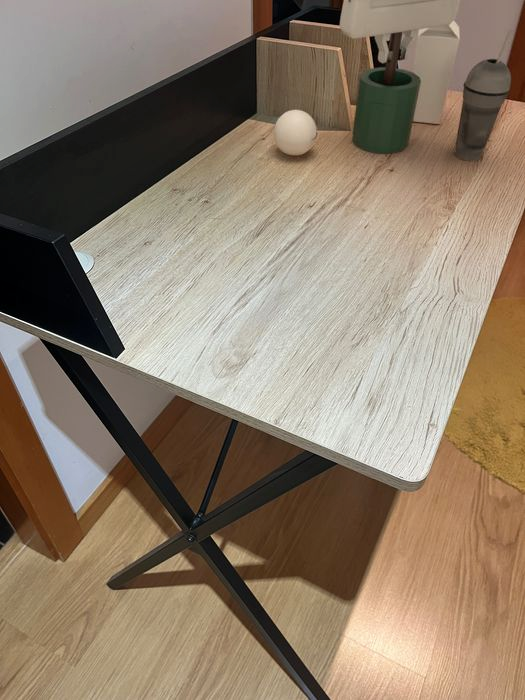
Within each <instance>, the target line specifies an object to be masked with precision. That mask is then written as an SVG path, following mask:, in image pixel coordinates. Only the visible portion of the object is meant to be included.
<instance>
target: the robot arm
mask: <svg viewBox="0 0 525 700" xmlns="http://www.w3.org/2000/svg"><path fill="white" fill-rule="evenodd" d="M460 3H461V0H343V3H342V8H341V13H340V19H339V29H340V31H341V32H342V35H344V36H346V37H348V38H350V39H353V40H355V39H356V40H358V39H363V38H370V37H374V40H375V43H376V45H377V48H378V55H377V60H378V62H379V63H381V64H386V63H387V62H391V60H392V58H391V57H392V54H393V51H392V50H389V49H388V48H389V45H388V42H390V36H391V33H398V32H403V33H402V35H403V37H402V39H401V44H400V50H399V56H398V62H399V61H405V60H407V59H408V58H409V57H408V56H409V51H410V49H411V47H412V46H413V44H414V43H415V42H416V40H417V35H418V30H419V29H425V28H431V27H438V26H445V25H450V24H451V23H452V21H453V20H454V21H455V19H456V17H457V14H458V11H459V7H460Z"/></svg>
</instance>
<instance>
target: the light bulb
mask: <svg viewBox="0 0 525 700" xmlns="http://www.w3.org/2000/svg"><path fill="white" fill-rule="evenodd" d="M317 136H318V131H317V125H316V123H315V120H314V118H313V117H312V116H311V115H310V114H309V113H307V111H303V110H300V109H291V110H288V111H286V112H284V113H283V114H282V115H280V116H279V117H278V119H277V120H276V122H275V125H274V129H273V140H274V142H275V144H276V145H277V148H278V149H279V150H280V151H282V153H284V154H286V155H289V156H293V157H295V156H301V155H305V154H306V153H307V152H308V151H310V150H311V149H312V147H313V146H314V144H315V143H316V139H317Z"/></svg>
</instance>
